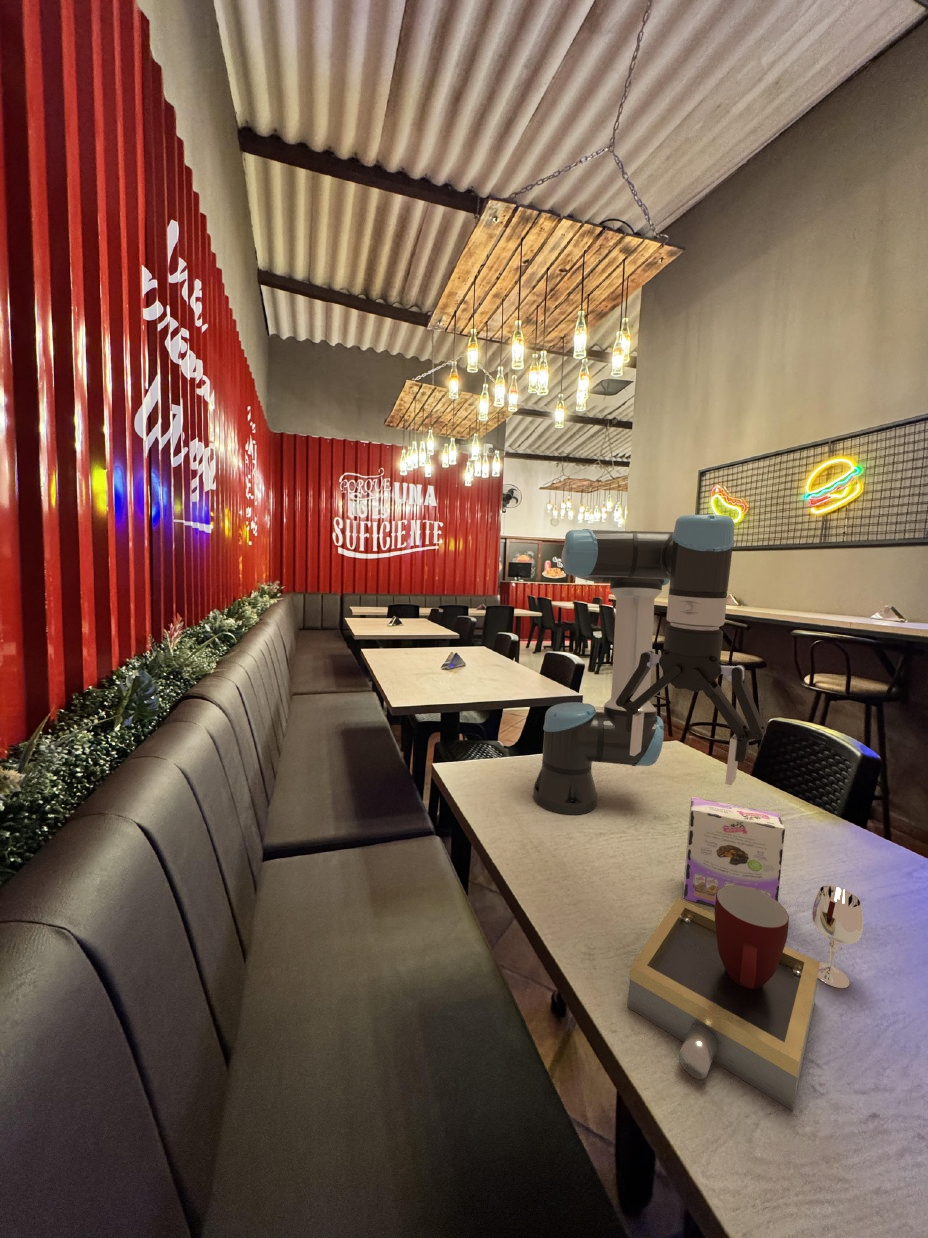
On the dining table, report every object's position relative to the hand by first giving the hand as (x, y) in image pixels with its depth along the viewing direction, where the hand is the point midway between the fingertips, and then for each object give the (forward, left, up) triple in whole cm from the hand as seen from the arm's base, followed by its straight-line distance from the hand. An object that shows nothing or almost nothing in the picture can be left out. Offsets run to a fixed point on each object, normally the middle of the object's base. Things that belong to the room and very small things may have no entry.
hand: (680, 766), depth 74 cm
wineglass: (+20, +9, -27) cm, 35 cm away
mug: (+12, -7, -23) cm, 27 cm away
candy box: (+5, +16, -27) cm, 32 cm away
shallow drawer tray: (+10, -9, -27) cm, 30 cm away
